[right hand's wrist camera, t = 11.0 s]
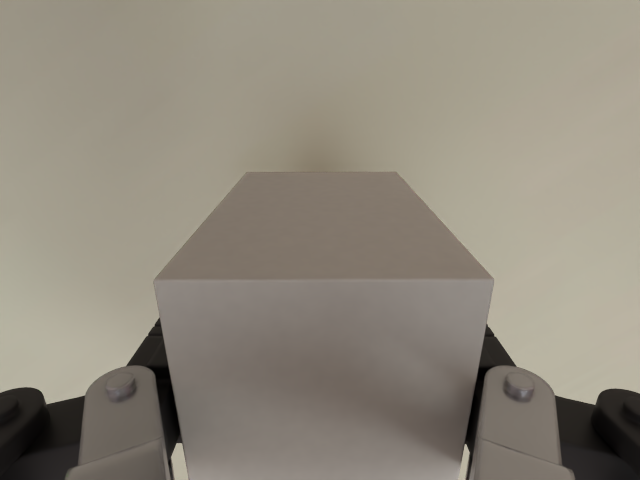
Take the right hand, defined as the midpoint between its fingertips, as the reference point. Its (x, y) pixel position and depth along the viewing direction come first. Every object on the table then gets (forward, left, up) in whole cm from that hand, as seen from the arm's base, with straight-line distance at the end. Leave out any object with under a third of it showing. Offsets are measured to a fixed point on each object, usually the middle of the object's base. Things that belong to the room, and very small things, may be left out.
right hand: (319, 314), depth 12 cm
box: (+7, -6, -5) cm, 11 cm away
